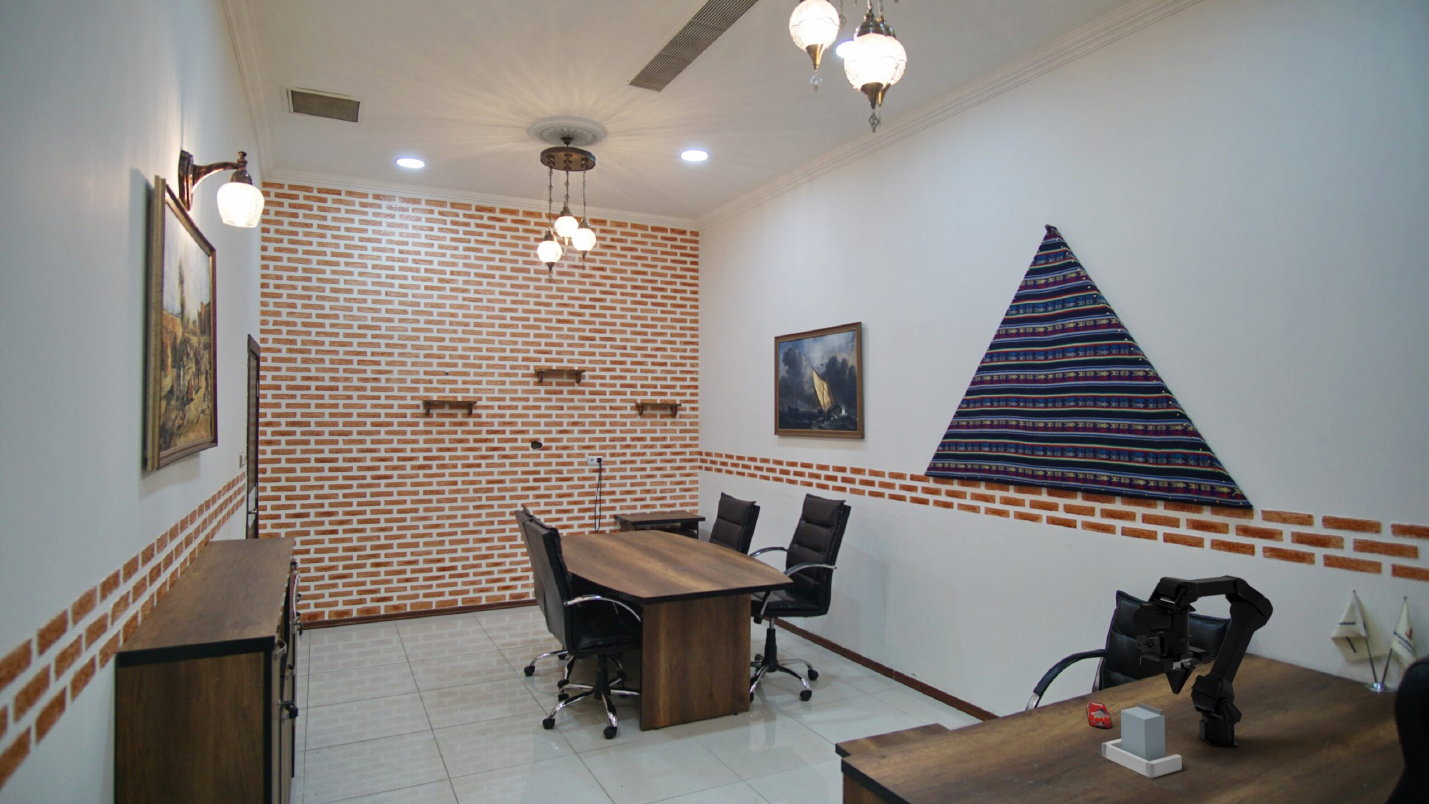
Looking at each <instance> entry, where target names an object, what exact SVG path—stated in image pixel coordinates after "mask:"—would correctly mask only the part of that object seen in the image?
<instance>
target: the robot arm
mask: <svg viewBox="0 0 1429 804" xmlns="http://www.w3.org/2000/svg"><path fill="white" fill-rule="evenodd" d="M1158 581H1159V582H1157V583H1156V585H1155V587H1154V590H1153V591H1152V593H1151V594H1150V596H1149V598H1148V600H1147V603H1139V605H1138V606H1139V608H1137V609H1135V610H1134V612H1133V615H1132V623H1133V625H1134V627H1135V628H1136V630H1137V631H1138V632H1140V633H1143V634H1145V635H1137V636H1136V644H1135V645H1136V647H1137V648H1138V649H1139V650H1141V652H1142V653H1144V654H1142V655H1141V656H1139V657H1140V659H1139V661H1140V662H1139V665H1140V666H1141V667H1145V668H1147V669H1152V670H1154V671H1157V672H1162V673H1164V674H1165V676H1166V679H1167V682H1168V683H1169V687H1170V688H1171V692H1172V694H1174V695H1179V694H1180V693H1181V691H1182V690H1183V688H1184V685H1186V683H1187V682H1188V679H1189V678H1190V677H1191V675H1192V673H1193V671H1194V670H1196V669H1197V666H1194V665H1191V662H1190V661H1192V660H1197V661H1198V660H1199V662H1200V663H1201V664H1202V665H1207V664H1211V662H1212V661H1211V658H1212V657H1211V654H1210V653H1209V652H1208V650H1206V649H1202V648H1198V647H1194V646H1190V641H1194V635H1190V618H1189V617H1190V613H1194V612H1197V609H1196V608H1195V607H1194V606H1193V605H1192V604H1193V603H1196V602H1197V601H1198V600H1199V599H1200V598H1205V597H1213V596H1222V595H1224V598H1225V599H1226V600H1227V602H1228V603H1229V604H1230V606H1229V609H1228V610H1229V616H1230V620H1231V622H1230V623H1231V624H1229V628H1228V630H1227V632H1226V635H1225V637H1224V639H1223V642H1222V643H1221V646H1220V648H1219V651H1218V653H1217V655H1216V657H1215V660H1214V662H1213V664H1212V667H1211V668H1210V671H1209V672H1208V673H1206V674H1205V675H1202V674H1198V675H1196V677H1195V680H1194V683H1193V684H1192V685H1191V687H1190V689H1191V692H1190V697H1191V700H1192V703H1193V705H1194V710H1195V711H1196V712H1197V713H1200V718H1201V719H1199V721H1198V722H1199V726H1198V727H1199V731H1198V733H1197V736H1198V737H1200V739H1202V740H1203V741H1205V742H1206V743H1207V744H1208V745H1210V746H1212V747H1230V748H1232V747H1233V748H1238V747H1239V744H1238V743H1237V742H1236V741H1235V725H1236V724H1237V723H1240V722H1241V720H1242V715H1243V713H1242V711H1240V709H1239V708H1238V707H1237V706H1236V705H1235V704H1234V701H1235V696H1236V695H1235V691H1234V687H1233V682H1234V680H1235V677H1236V675H1237V673H1238V670H1239V668H1240V665H1241V663H1242V661H1243V659H1244V657H1245V654H1246V653H1247V650H1248V647H1249V645H1250V643H1251V641H1252V638H1253V635H1254V634H1255V633H1256V632H1257V631H1258V630H1260V629H1262V628H1263V627H1265V626H1266V625H1267V623H1268V622H1269V620H1271V619H1270V618H1271V617H1272V615H1273V613H1274V606H1273V604H1272V602H1271V600H1270V599H1269V598H1267V597H1265V595H1264V594H1263V593H1261V592H1260V591H1258V590H1257V589H1256V588H1254V587H1253V586H1251V585H1250V584H1249V583H1248V582H1247V581H1246V580H1245V579H1243V578H1242V577H1239V576H1238V577H1237V576H1233V575H1229V574H1227V575H1226V574H1225V575H1222V576H1215V577H1205V578H1196V579H1184V578H1180V577H1179V578H1178V577H1173V576H1172V577H1171V576H1170V577H1169V576H1163V577H1161V578H1160V579H1159V580H1158ZM1149 633H1156V637H1155V636H1154V637H1148V635H1146V634H1149ZM1153 651H1155V652H1153ZM1147 652H1150V653H1147Z"/></svg>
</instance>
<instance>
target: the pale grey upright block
mask: <svg viewBox="0 0 1429 804" xmlns="http://www.w3.org/2000/svg"><path fill="white" fill-rule="evenodd" d="M1165 717H1166V715H1165V714H1164V710H1163V709H1161V708H1158V707H1155V706H1153V705H1150V704H1146V703H1144V702H1137V706H1135V707H1131V708H1126V709H1121V710H1120V739H1121V750H1124V751H1126V752H1128V753H1131V754H1133V755H1135V756H1138V757H1140V758H1142V759H1145V760H1147V761H1153V760H1157V759H1160V758H1164V757H1166V735H1165V734H1166V730H1165V729H1166V728H1165V727H1166V726H1165V725H1166V723H1165V721H1166V719H1165Z"/></svg>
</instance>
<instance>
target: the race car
mask: <svg viewBox="0 0 1429 804" xmlns="http://www.w3.org/2000/svg"><path fill="white" fill-rule="evenodd" d="M1085 708H1086V709H1085V710H1086V711H1085V712H1086V717H1087V721H1088V724H1089V726H1093V727H1095V728H1096V727H1098V728H1106V729H1107V728H1110V729H1111V724H1112V723H1111V719H1110V715H1111V712H1109V711H1108V709H1107V708H1108V707H1106V705H1105V703H1102V702H1096V701H1088V702H1087V704H1086V707H1085Z"/></svg>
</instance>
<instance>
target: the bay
mask: <svg viewBox="0 0 1429 804" xmlns="http://www.w3.org/2000/svg"><path fill="white" fill-rule="evenodd" d="M1101 757H1103V758H1105V759H1107V760H1109V761H1112V762H1113V763H1116V764H1119V765H1121V766H1123V767H1124V768H1127V769H1129V770H1132V771H1134V772H1136V773H1138V774H1141V775H1142V776H1144V777H1147V778H1149V779H1153V778H1157V777H1160V776H1165V775H1168V774H1170V773H1174V772H1177V771H1181V770H1183V769H1182V765H1183V764H1182V761H1183V760H1182V759H1183V758H1182V755H1180V754H1177V753H1176V754H1172V755H1169V756H1165V757H1164V758H1160V759H1157V760H1153V761H1147V760H1145V759H1142V758H1140V757H1138V756H1135V755H1133V754H1131V753H1128V752H1126V751H1124V750H1121V738H1118V739H1114V740H1113V739H1112V740H1110V741H1106V742H1102V743H1101Z"/></svg>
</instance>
